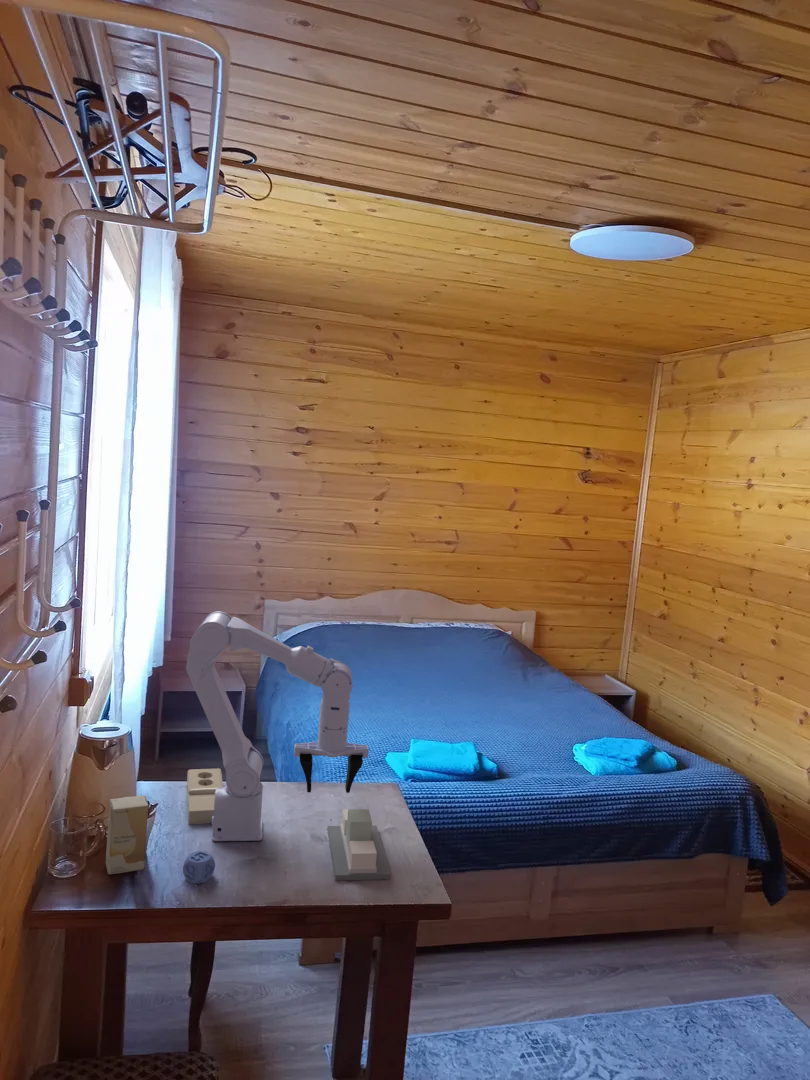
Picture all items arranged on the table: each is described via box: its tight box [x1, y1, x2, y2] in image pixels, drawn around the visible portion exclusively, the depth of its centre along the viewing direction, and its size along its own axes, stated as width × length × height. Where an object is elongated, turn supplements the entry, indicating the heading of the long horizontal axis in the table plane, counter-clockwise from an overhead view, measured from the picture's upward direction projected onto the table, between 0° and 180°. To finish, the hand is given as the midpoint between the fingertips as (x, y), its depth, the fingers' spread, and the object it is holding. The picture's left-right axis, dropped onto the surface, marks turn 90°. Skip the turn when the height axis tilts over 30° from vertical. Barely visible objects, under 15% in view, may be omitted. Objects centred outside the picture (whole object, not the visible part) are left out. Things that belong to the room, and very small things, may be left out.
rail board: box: [327, 808, 391, 881], centre depth 150 cm, size 10×18×5 cm, turn 10°
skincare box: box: [105, 795, 149, 875], centre depth 139 cm, size 6×4×12 cm
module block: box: [346, 808, 373, 852], centre depth 150 cm, size 4×5×6 cm
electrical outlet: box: [186, 767, 224, 825], centre depth 166 cm, size 7×4×18 cm
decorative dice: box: [182, 850, 216, 885], centre depth 138 cm, size 4×4×4 cm
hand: (328, 790), depth 156 cm, fingers open, 7 cm apart
